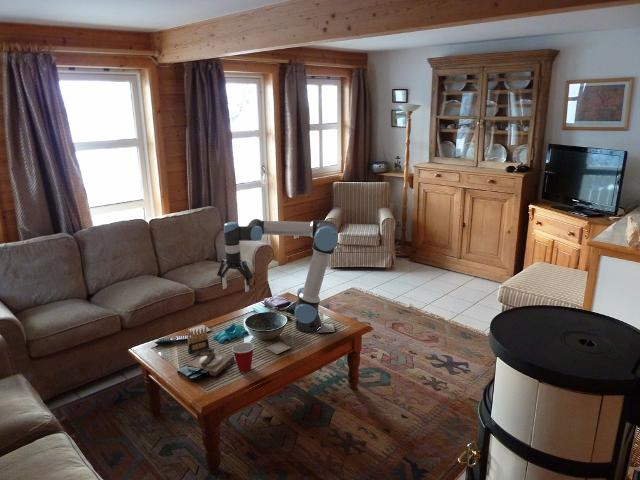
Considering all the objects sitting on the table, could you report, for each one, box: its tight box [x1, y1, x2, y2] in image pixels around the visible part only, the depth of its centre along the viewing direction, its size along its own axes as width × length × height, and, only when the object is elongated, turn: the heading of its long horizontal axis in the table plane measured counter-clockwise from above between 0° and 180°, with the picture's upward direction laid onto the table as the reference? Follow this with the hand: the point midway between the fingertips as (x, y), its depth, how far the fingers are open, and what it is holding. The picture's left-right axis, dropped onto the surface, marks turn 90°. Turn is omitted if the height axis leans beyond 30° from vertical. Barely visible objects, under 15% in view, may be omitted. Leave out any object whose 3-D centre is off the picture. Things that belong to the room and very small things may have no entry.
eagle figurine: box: [196, 346, 220, 366], centre depth 232 cm, size 8×7×9 cm
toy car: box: [212, 323, 249, 345], centre depth 263 cm, size 11×18×7 cm, turn 131°
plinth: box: [187, 351, 235, 377], centre depth 235 cm, size 16×16×3 cm
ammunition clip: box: [187, 326, 210, 354], centre depth 248 cm, size 11×2×12 cm, turn 123°
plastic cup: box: [231, 342, 255, 373], centre depth 229 cm, size 11×11×12 cm
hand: (235, 289), depth 256 cm, fingers open, 13 cm apart
